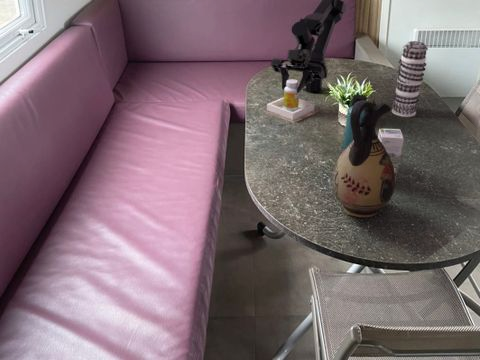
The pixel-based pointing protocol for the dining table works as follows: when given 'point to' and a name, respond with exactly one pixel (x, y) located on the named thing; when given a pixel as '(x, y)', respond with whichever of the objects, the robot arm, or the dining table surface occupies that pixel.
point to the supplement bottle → (291, 95)
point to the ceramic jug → (364, 165)
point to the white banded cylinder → (409, 79)
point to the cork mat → (297, 119)
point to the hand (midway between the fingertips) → (290, 90)
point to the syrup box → (392, 145)
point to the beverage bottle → (348, 130)
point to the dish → (291, 115)
